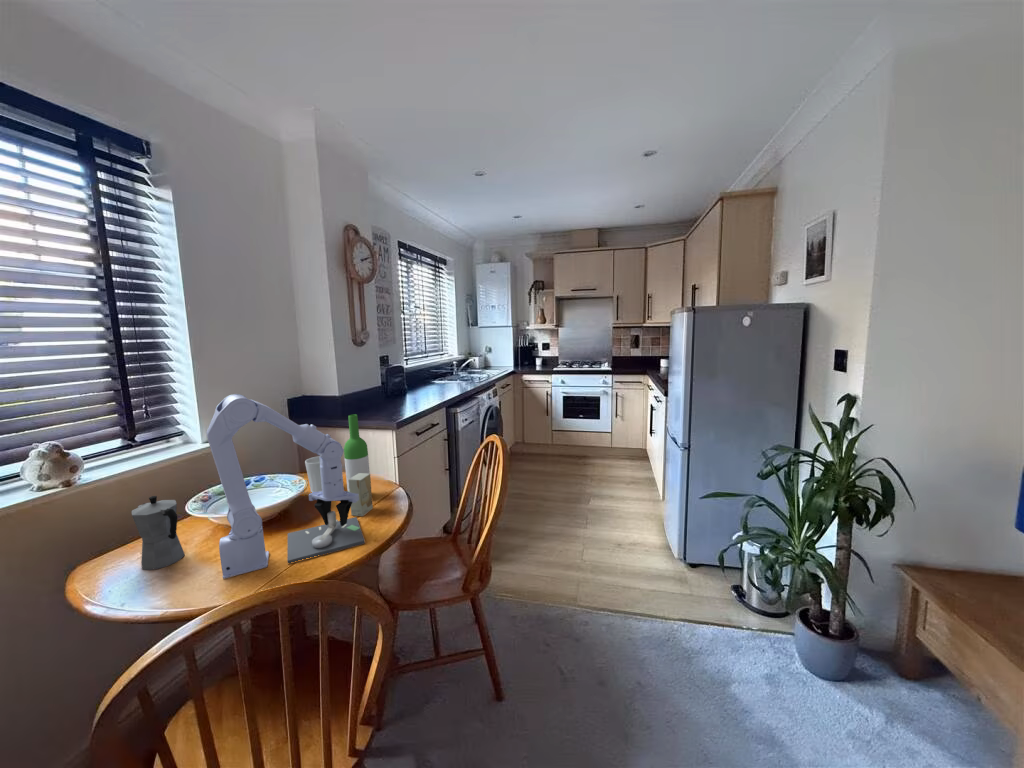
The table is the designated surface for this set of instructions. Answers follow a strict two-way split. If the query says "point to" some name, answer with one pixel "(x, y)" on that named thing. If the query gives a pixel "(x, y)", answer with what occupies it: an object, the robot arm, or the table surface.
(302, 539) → the gauge board
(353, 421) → the wine bottle
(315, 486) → the cup
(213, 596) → the table surface
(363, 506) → the skincare box
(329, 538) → the tuning lever
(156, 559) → the coffeepot
